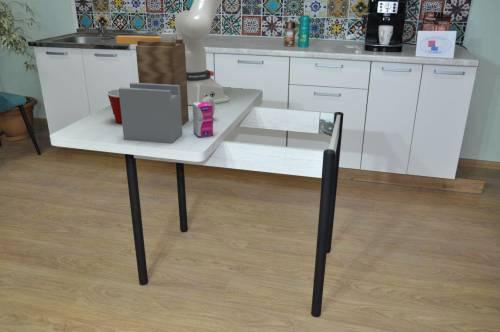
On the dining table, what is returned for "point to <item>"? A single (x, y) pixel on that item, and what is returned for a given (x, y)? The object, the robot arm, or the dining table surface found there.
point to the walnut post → (164, 67)
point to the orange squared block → (145, 38)
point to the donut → (210, 100)
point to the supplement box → (202, 119)
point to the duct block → (151, 112)
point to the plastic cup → (115, 104)
